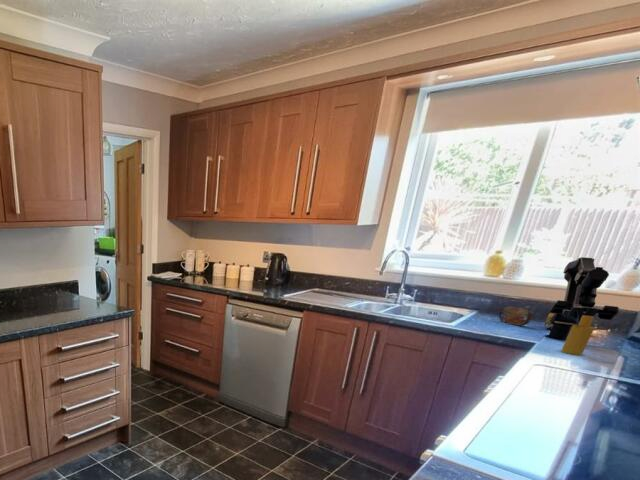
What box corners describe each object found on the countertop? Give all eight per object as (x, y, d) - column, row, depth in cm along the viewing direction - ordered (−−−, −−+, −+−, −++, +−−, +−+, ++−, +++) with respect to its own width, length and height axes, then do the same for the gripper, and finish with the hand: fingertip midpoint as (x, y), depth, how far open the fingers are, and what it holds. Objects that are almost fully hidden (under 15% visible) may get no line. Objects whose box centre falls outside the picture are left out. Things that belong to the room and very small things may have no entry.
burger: (565, 328, 215) (573, 308, 211) (587, 335, 202) (596, 314, 199) (535, 326, 217) (543, 306, 213) (555, 332, 204) (564, 312, 201)
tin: (496, 320, 227) (502, 304, 224) (501, 320, 227) (507, 304, 224) (523, 327, 213) (530, 310, 210) (529, 327, 213) (535, 310, 210)
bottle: (568, 350, 174) (585, 314, 169) (585, 354, 169) (603, 318, 163) (557, 350, 173) (573, 314, 167) (574, 355, 168) (591, 318, 162)
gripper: (606, 311, 176) (602, 341, 172) (547, 304, 186) (541, 333, 182) (621, 294, 167) (617, 326, 163) (558, 288, 177) (552, 318, 173)
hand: (580, 326), depth 170 cm, fingers closed
